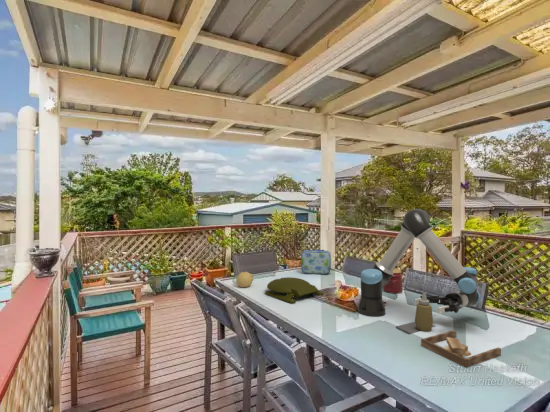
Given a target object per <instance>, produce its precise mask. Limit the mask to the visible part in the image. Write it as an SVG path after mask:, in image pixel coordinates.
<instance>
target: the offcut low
mask: <svg viewBox="0 0 550 412" xmlns="http://www.w3.org/2000/svg"><path fill="white" fill-rule="evenodd" d="M459 356H461V357H471V356H472V353H471V351H470V350H468V351H467V352H465V354H461V355H459Z"/></svg>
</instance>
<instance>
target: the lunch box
mask: <svg viewBox="0 0 550 412" xmlns="http://www.w3.org/2000/svg"><path fill="white" fill-rule="evenodd" d="M300 259H301V260H300V269H301V272H302V273H303V274H307V275H309V274H310V275H328V274H330V272H331V270H332V268H331V267H332V256H331V252H330V251H329V250H324V249H304V250H303V251H302V253H301V256H300Z"/></svg>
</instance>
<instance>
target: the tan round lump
mask: <svg viewBox="0 0 550 412" xmlns="http://www.w3.org/2000/svg"><path fill="white" fill-rule="evenodd" d="M253 281H254V274H253V273H249V272H248V271H242V272H239V274H238V275H237V277H236V284H237V286H238V287H239V288H248V287H250V286H252V283H253Z"/></svg>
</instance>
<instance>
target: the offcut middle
mask: <svg viewBox="0 0 550 412" xmlns="http://www.w3.org/2000/svg"><path fill="white" fill-rule="evenodd" d="M461 344H462V343H461ZM462 345H463V347H464V349H465V352H467V351H469V345H466V344H462ZM443 348H444V349H446V350H448V351H451V349H450V347H449V346H448V345H447V346H445V347H443ZM451 352H452V351H451ZM455 354H457V355H461V354H460V353H455Z"/></svg>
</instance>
